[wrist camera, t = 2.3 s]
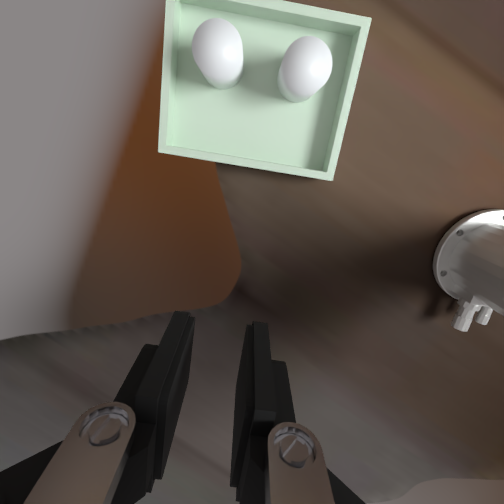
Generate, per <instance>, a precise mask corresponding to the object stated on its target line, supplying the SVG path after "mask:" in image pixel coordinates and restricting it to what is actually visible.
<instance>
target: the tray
mask: <svg viewBox="0 0 504 504" xmlns="http://www.w3.org/2000/svg"><path fill="white" fill-rule="evenodd" d="M211 18H221V19H224V20H227V21H228V22H230V23H231V24H232V25H233V26H234V27H235V28H236V29H237V31H238V32H239V34H240V37H241V40H242V46H243V60H244V71H243V75H242V77H241V79H240V81H239V82H238V83H237V84H236V85H235V86H234V87H232V88H230V89H225V90H222V89H217V88H215V87H213V86H212V85H210V84H209V83H208V81H207V80H206V79H205V77H204V75H203V74H202V72H201V70H200V69H199V67H198V66H197V64H196V62H195V60H194V57H193V53H192V39H193V36H194V33H195V31H196V29H197V28H198V27H199V26H200V24H202V23H203V22H204V21H206V20H208V19H211ZM371 20H372V18H369V17H364V16H359V15H354V14H349V13H344V12H338V11H333V10H328V9H323V8H318V7H313V6H308V5H303V4H298V3H293V2H288V1H283V0H166V9H165V28H164V46H163V66H162V84H161V104H160V122H159V123H160V125H159V143H158V152H160V153H166V154H172V155H178V156H184V157H190V158H196V159H202V160H208V161H214V162H220V163H226V164H232V165H238V166H245V167H251V168H257V169H263V170H269V171H275V172H281V173H287V174H293V175H299V176H305V177H311V178H317V179H323V180H329V181H333V177H334V172H335V168H336V164H337V160H338V156H339V152H340V148H341V144H342V139H343V135H344V131H345V127H346V123H347V119H348V115H349V110H350V106H351V102H352V98H353V94H354V90H355V86H356V82H357V77H358V73H359V69H360V65H361V61H362V57H363V53H364V48H365V44H366V40H367V36H368V32H369V28H370V24H371ZM304 36H314V37H317V38H319V39H321V40H322V41H323V42H325V44H326V45H327V46H328V48H329V50H330V52H331V55H332V71H331V74H330V77H329V79H328V80H327V82H326V83H325V84H324V85H323V86H322V87H321V88H320V89H319V90H318V91H317V92H316V93H315V94H313V95H312V96H311V97H310V98H309V99H307V100H306V101H303V102H300V103H294V102H290V101H288V100H287V99H285V98H284V97H283V96H282V94H281V93H280V91H279V89H278V85H277V76H278V72H279V69H280V66H281V63H282V61H283V58H284V55H285V53H286V50H287V49H288V47H289V46H290V45H291V44H292V43H293V42H294V41H295V40H297V39H298V38H301V37H304Z"/></svg>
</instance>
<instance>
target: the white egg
mask: <svg viewBox="0 0 504 504" xmlns="http://www.w3.org/2000/svg"><path fill="white" fill-rule="evenodd" d="M192 53H193V57H194V60H195V62H196V64H197V66H198V67H199V69H200V70H201V72H202V74H203V75H204V77H205V79H206V80H207V81H208V83H209V84H210V85H212V86H213V87H215V88H217V89H222V90H225V89H230V88H232V87H234V86H235V85H236V84H237V83H238V82H239V81H240V79H241V77H242V75H243V71H244V60H243V46H242V40H241V37H240V34H239V32H238V31H237V29H236V28H235V27H234V26H233V25H232V24H231V23H230V22H228V21H227V20H224V19H221V18H211V19H208V20H206V21H204V22H203V23H202V24H200V26H199V27H198V28H197V29H196V31H195V33H194V36H193V39H192Z"/></svg>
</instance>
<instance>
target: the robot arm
mask: <svg viewBox="0 0 504 504" xmlns="http://www.w3.org/2000/svg"><path fill="white" fill-rule="evenodd" d="M433 272H434V276H435V279H436V282H437V283H438V285H439V286H440V288H441V289H442V290H444V291H445V292H446V293H447V294H449V295H450V296H452V297H453V298H455V299H458V304H459V305H460V306H459V309H458V311H457V312H456V313H455V315H454V318H453V320H452V322H451V325H452V326H453V327H454V328H456V329H458V330H461V331H467V330H468V328H469V326H470V324H471V322H472V320H473V318H472V317H473V315H474V313H475V311H478V313H477V315H476V318H475V321H476V322H478V323H480V324H483V325H487V323H488V321H489V318H490V315H491V313H492V311H493V310H495V311H496V312H498V313H500V314H501V315H503V316H504V210H502V209H488V210H482V211H478V212H476V213H473V214H470V215H468V216H466V217H465V218H463V219H461V220H460V221H458V222H457V223H456V224H454V225H453V226H452V227H451V228H450V229H449V230H448V231H447V232H446V233H445V235H444V236H443V238H442V239H441V240H440V242H439V244H438V246H437V248H436V251H435V254H434V258H433ZM194 326H195V317H190V313H187V312H180V311H175V312H174V314H173V316H172V318H171V321H170V323H169V325H168V327H167V329H166V331H165V333H164V335H163V338H162V340H161V342H160V344H159V346H158V345H150V344H145V345H144V346H143V348H142V350H141V352H140V353H139V355H138V357H137V359H136V361H135V363H134V364H133V366H132V368H131V370H130V372H129V374H128V375H127V377H126V379H125V381H124V383H123V385H122V386H121V388H120V390H119V392H118V394H117V396H116V397H115V399H114V401H113V402H106V403H101V404H98V405H96V406H94V407H92V408H90V409H88V410H87V411H86V412H84V413H83V414H82V415H81V416H80V417H79V418H78V419H77V421H76V422H75V423H74V425H73V426H72V428H71V430H70V431H69V433H68V434H67V436H66V437H65V439H64V440H63V441H61V442H59V443H57V444H55V445H53V446H51V447H49V448H47V449H45V450H43V451H41V452H39V453H37V454H35V455H33V456H31V457H29V458H27V459H25V460H23V461H21V462H19V463H17V464H15V465H13V466H11V467H9V468H7V469H5V470H3V471H1V472H0V504H134V503H136V502H137V501H138V500H140V499H141V498H142V497H144V496H145V494H146V492H149V493H151V491H152V487H153V484H154V480H155V479H160V480H161V479H162V477H163V473H164V469H165V466H166V462H167V458H168V455H169V451H170V447H171V443H172V440H173V436H174V432H175V429H176V425H177V421H178V417H179V414H180V410H181V406H182V403H183V399H184V395H185V391H186V388H187V384H188V378H189V371H190V362H191V353H192V344H193V335H194ZM230 487H237V489H236V501H239V502H240V504H365V503H364V502H363V501H362V500H361V499H360V498H359V497H358V496H357V495H356V494H355V493H354V492H352V491H351V490H350V489H349V488H348V487H347V486H346V485H345V484H344V483H343V482H342V481H341V480H339V479H338V478H337V477H336V476H335V475H334V474H333V473H332V472H331V471H330V470H329V469H327V468H326V464H325V460H324V456H323V451H322V448H321V445H320V443H319V441H318V439H317V438H316V437H315V435H314V434H313V433H312V432H311V431H310V430H308V429H307V428H306V427H304V426H302V425H300V424H297V423H296V420H295V414H294V408H293V402H292V396H291V390H290V384H289V378H288V372H287V367H286V363H285V362H283V361H275V360H271V351H270V342H269V332H268V324H267V323H261V322H254V321H253V323H252V325H247V327H246V332H245V338H244V344H243V349H242V355H241V361H240V366H239V372H238V378H237V384H236V394H235V410H234V426H233V443H232V459H231V476H230Z"/></svg>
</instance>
